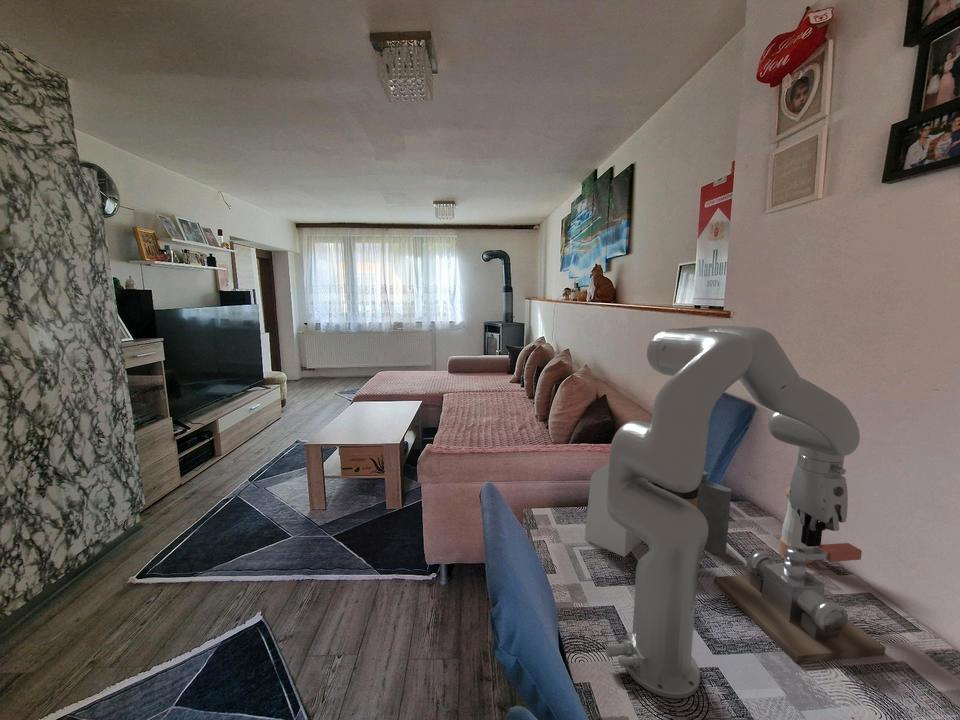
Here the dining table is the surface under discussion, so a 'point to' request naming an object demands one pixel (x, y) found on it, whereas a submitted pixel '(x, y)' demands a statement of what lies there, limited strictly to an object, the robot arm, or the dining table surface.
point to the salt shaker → (792, 531)
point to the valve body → (796, 595)
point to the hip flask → (715, 513)
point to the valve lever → (824, 553)
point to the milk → (605, 519)
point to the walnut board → (796, 627)
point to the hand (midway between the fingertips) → (810, 544)
